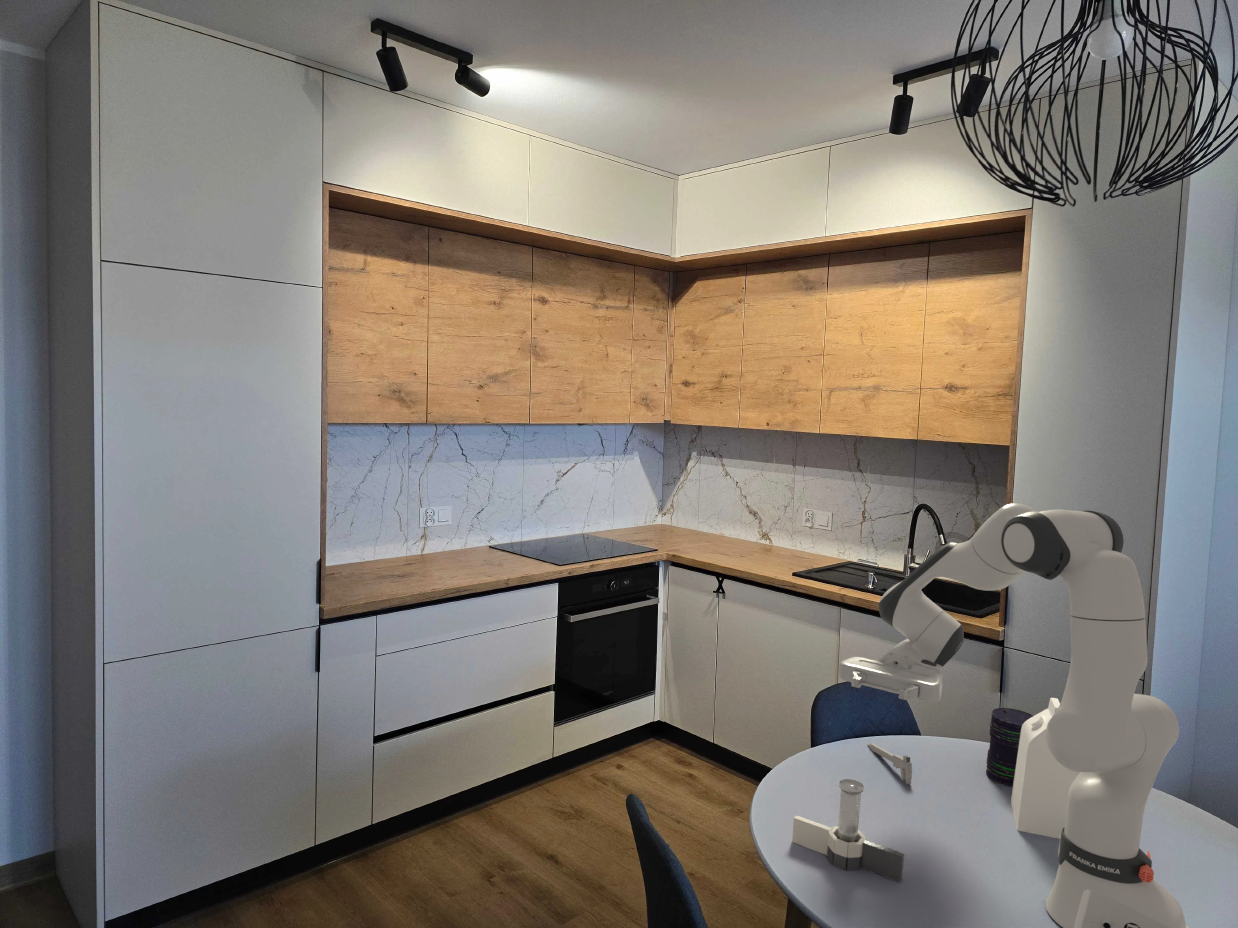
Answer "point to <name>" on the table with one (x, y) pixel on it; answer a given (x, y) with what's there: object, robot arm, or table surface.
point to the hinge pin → (849, 809)
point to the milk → (1040, 780)
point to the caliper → (896, 762)
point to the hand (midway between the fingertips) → (878, 689)
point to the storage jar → (1004, 744)
